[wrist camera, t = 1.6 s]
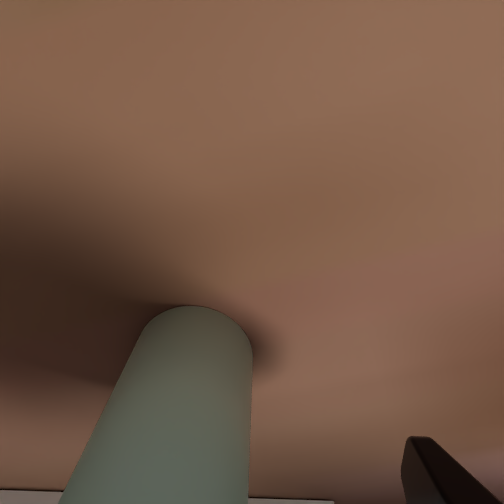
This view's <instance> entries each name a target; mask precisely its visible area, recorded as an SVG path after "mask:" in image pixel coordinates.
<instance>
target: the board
mask: <svg viewBox="0 0 504 504" xmlns="http://www.w3.org/2000/svg"><path fill="white" fill-rule="evenodd" d="M62 494H63V492H44V491H13V490H0V504H58V502H59V500H60V498H61V496H62ZM248 504H334V501H318V500H288V499H257V498H248Z"/></svg>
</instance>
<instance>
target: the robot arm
mask: <svg viewBox="0 0 504 504" xmlns="http://www.w3.org/2000/svg"><path fill="white" fill-rule="evenodd" d="M401 479H402V484H403V488H404V493H405V497H406V502H407V504H502V503H501V502H500V501H499V500H498V499H497V498H496V497H495V496H494V495H493V494H492V493H490V492H489V491H488V490H487V489H486V488H485V487H484V486H483V485H482V484H481V483H480V482H479V481H477V480H476V479H475V478H474V477H473V476H472V475H471V474H470V473H469V472H468V471H467V470H466V469H464V468H463V467H462V466H461V465H460V464H459V463H458V462H457V461H456V460H455V459H454V458H453V457H451V456H450V455H449V454H448V453H447V452H446V451H445V450H444V449H443V448H442V447H441V446H440V445H438V444H437V443H436V442H435V441H434V440H433V439H431V438H430V437H421V436H411V437H408V439H407V441H406V444H405V449H404V455H403V460H402V465H401Z"/></svg>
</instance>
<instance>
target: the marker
mask: <svg viewBox="0 0 504 504" xmlns="http://www.w3.org/2000/svg"><path fill="white" fill-rule="evenodd" d="M252 372H253V352H252V347H251V344H250V342H249V339H248V337H247V336H246V334H245V332H244V331H243V330H242V328H241V327H240V326H239V325H238V324H237V323H236V322H234V321H233V320H232V319H231V318H229V317H228V316H226V315H224V314H222V313H220V312H218V311H216V310H213V309H210V308H205V307H200V306H182V307H176V308H173V309H169V310H167V311H165V312H162V313H161V314H159V315H157V316H156V317H154V318H153V319H152V320H151V321H150V322H149V323H148V324H147V325H146V326H145V327H144V329H143V330H142V332H141V334H140V336H139V338H138V340H137V342H136V344H135V346H134V349H133V351H132V353H131V355H130V357H129V359H128V361H127V363H126V365H125V367H124V369H123V371H122V373H121V375H120V377H119V379H118V381H117V383H116V385H115V387H114V389H113V392H112V394H111V396H110V398H109V400H108V402H107V404H106V406H105V408H104V410H103V412H102V414H101V416H100V418H99V420H98V422H97V424H96V426H95V428H94V430H93V433H92V435H91V437H90V439H89V441H88V443H87V445H86V447H85V449H84V451H83V453H82V455H81V457H80V459H79V461H78V463H77V465H76V467H75V469H74V471H73V473H72V476H71V478H70V480H69V482H68V484H67V486H66V488H65V490H64V492H63V494H62V496H61V498H60V500H59V502H58V504H248V488H249V459H250V430H251V401H252Z"/></svg>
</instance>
